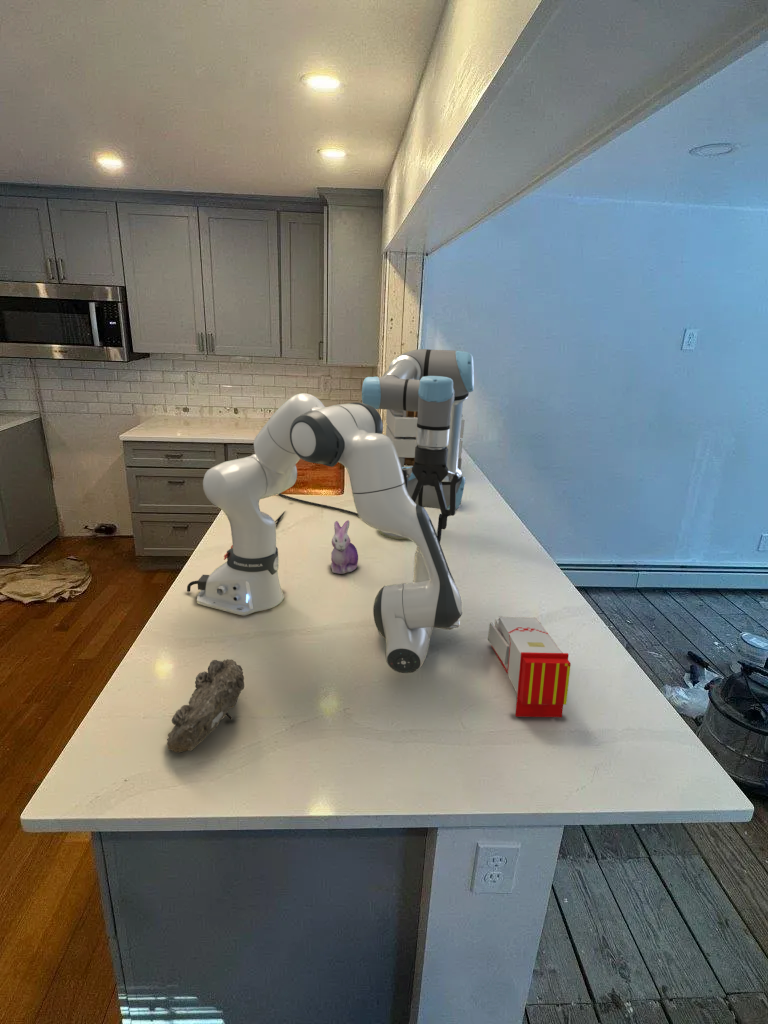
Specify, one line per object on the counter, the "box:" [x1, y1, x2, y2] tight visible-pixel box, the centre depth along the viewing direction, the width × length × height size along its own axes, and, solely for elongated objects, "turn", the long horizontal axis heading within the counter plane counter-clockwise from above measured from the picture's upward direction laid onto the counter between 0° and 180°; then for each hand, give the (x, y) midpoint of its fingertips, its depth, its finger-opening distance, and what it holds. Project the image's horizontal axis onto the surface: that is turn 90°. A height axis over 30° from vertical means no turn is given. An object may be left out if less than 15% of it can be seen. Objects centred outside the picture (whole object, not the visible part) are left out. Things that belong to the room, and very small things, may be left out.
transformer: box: [385, 409, 465, 472], centre depth 268 cm, size 34×33×41 cm
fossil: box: [166, 658, 245, 754], centre depth 106 cm, size 22×10×15 cm
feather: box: [274, 510, 286, 528], centre depth 212 cm, size 2×28×2 cm
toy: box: [487, 616, 572, 718], centre depth 123 cm, size 12×13×30 cm
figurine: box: [330, 519, 359, 575], centre depth 169 cm, size 9×10×15 cm
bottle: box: [412, 546, 431, 583], centre depth 141 cm, size 4×4×24 cm
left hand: (421, 595), depth 144 cm, fingers closed on bottle, 4 cm apart
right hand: (425, 539), depth 137 cm, fingers open, 6 cm apart
